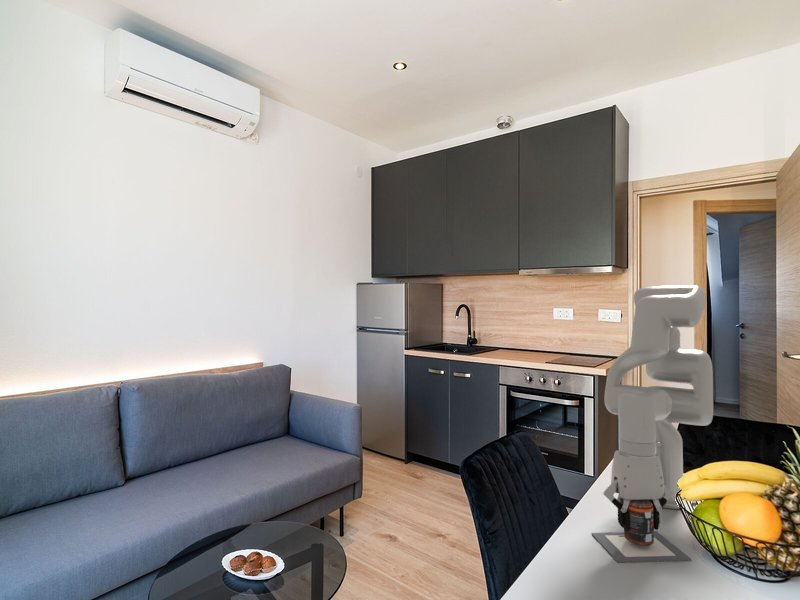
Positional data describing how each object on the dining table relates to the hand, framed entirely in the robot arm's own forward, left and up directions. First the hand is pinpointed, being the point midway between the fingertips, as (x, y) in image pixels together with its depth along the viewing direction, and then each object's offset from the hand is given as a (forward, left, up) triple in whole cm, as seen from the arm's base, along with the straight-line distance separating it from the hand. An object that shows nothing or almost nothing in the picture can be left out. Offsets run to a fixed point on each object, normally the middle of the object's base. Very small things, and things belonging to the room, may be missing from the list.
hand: (638, 526), depth 101 cm
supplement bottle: (0, 0, -3) cm, 3 cm away
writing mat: (0, 0, -4) cm, 4 cm away
